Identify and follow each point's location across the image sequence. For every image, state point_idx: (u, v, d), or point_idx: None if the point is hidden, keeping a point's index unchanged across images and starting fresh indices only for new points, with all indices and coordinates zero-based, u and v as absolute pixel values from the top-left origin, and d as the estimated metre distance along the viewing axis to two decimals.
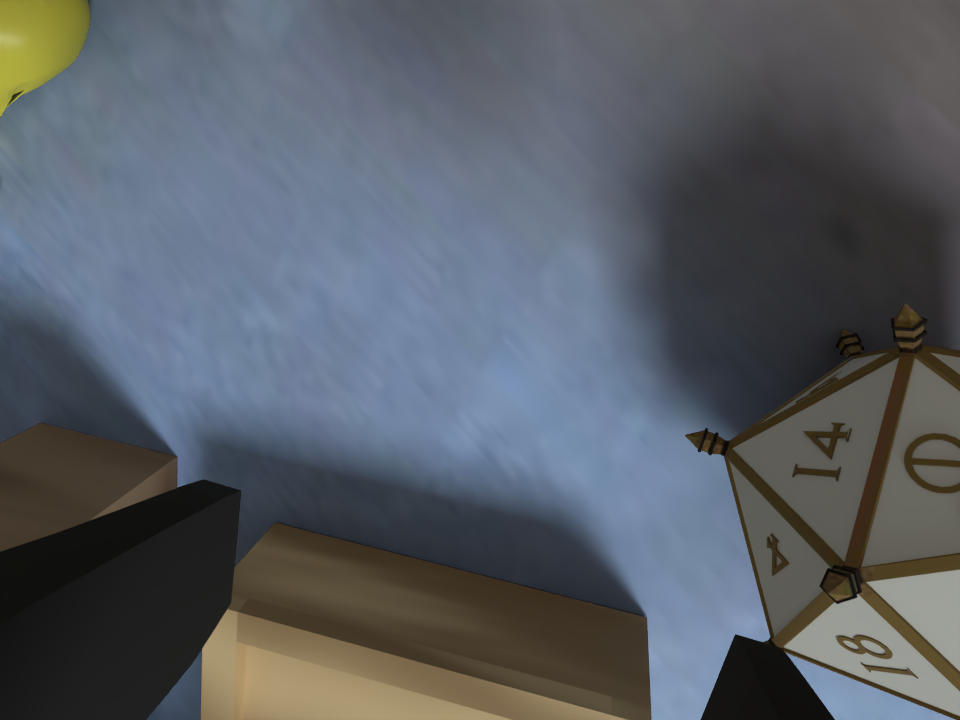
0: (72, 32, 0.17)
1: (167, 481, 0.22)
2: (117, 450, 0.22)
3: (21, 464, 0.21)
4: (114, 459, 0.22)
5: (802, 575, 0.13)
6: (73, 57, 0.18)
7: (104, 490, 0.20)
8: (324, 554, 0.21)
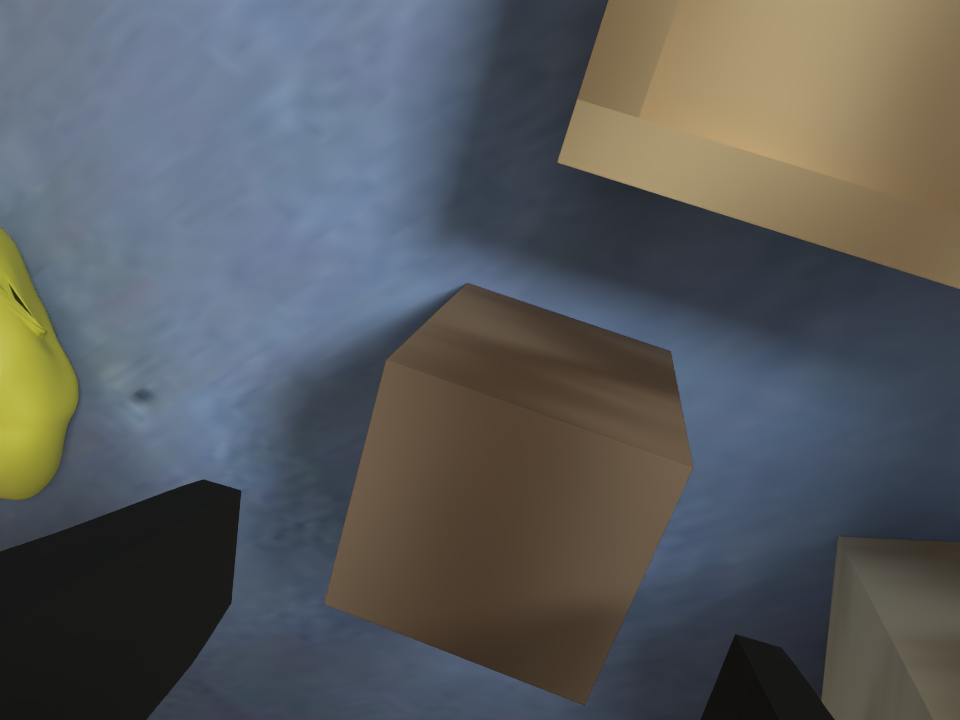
0: None
1: (488, 296, 0.16)
2: None
3: None
4: None
5: None
6: None
7: None
8: None
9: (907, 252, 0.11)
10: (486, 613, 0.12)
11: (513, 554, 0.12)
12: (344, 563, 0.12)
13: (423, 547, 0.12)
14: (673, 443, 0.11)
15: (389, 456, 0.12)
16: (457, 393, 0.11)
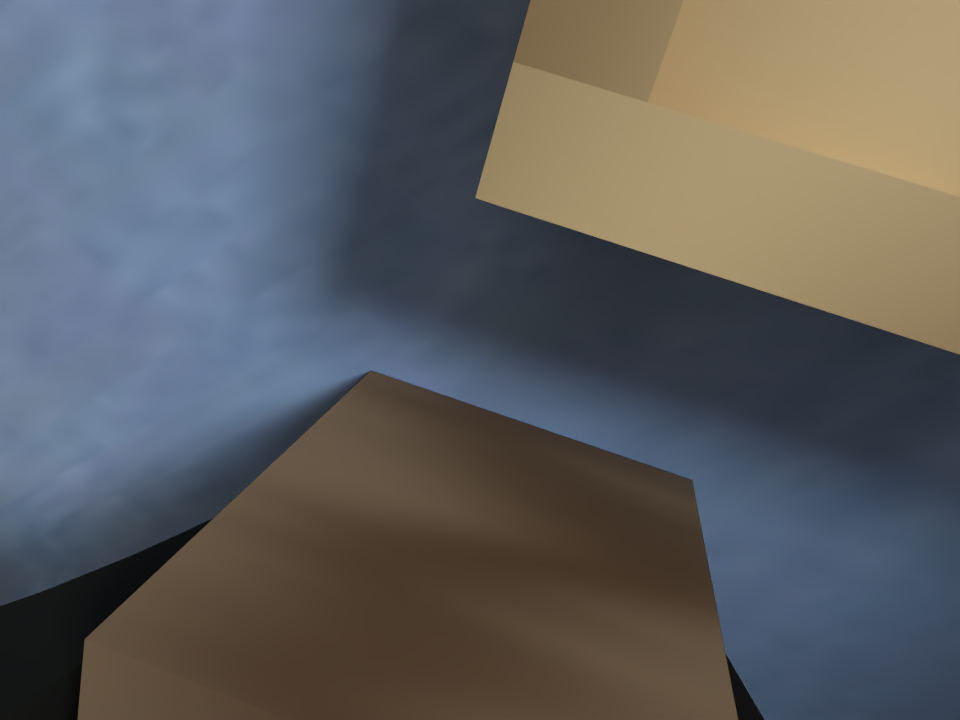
0: None
1: (399, 397, 0.10)
2: None
3: None
4: None
5: None
6: None
7: None
8: None
9: None
10: None
11: None
12: None
13: None
14: None
15: None
16: (242, 716, 0.05)
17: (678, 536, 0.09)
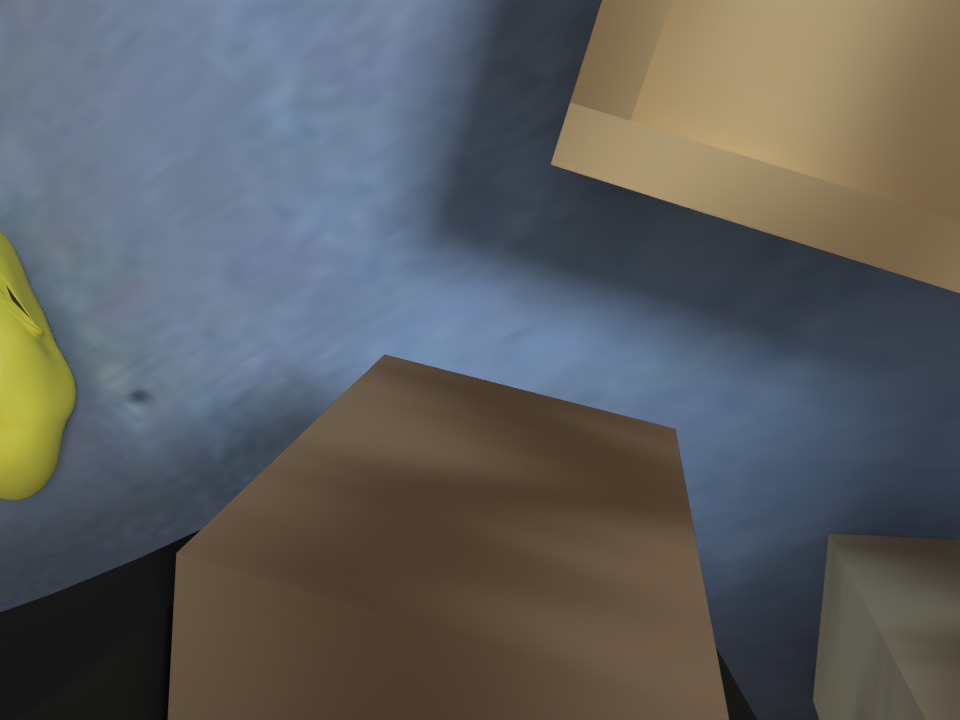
0: None
1: (410, 374, 0.11)
2: None
3: None
4: None
5: None
6: None
7: None
8: None
9: (893, 252, 0.11)
10: None
11: None
12: None
13: None
14: (689, 652, 0.06)
15: (211, 702, 0.07)
16: (303, 603, 0.06)
17: (660, 471, 0.10)
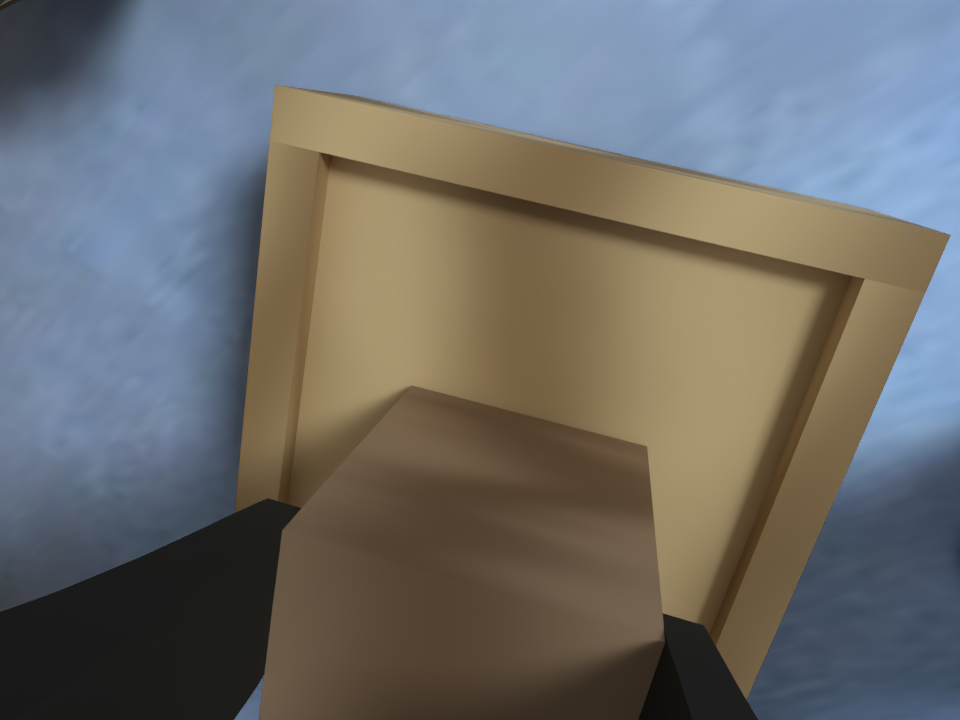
0: None
1: (434, 402, 0.14)
2: None
3: None
4: None
5: None
6: None
7: None
8: None
9: None
10: None
11: None
12: None
13: None
14: (641, 602, 0.09)
15: (300, 641, 0.09)
16: (370, 565, 0.09)
17: (632, 479, 0.12)
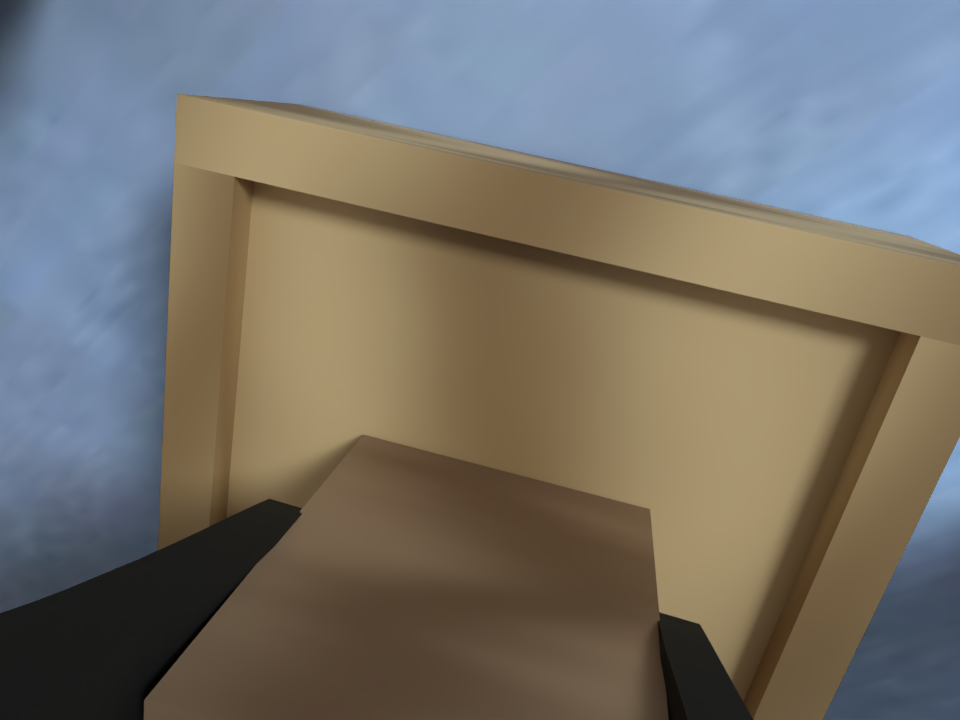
0: None
1: (388, 458, 0.11)
2: None
3: None
4: None
5: None
6: None
7: None
8: None
9: None
10: None
11: None
12: None
13: None
14: None
15: None
16: None
17: (632, 564, 0.10)
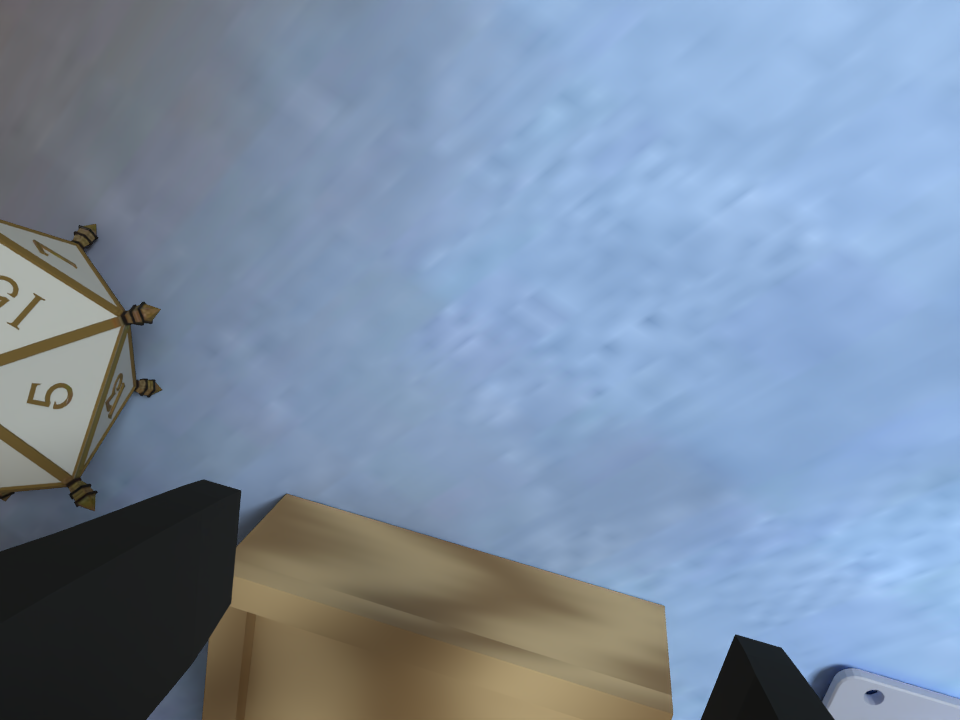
0: None
1: None
2: None
3: None
4: None
5: None
6: None
7: None
8: None
9: None
10: None
11: None
12: None
13: None
14: None
15: None
16: None
17: None
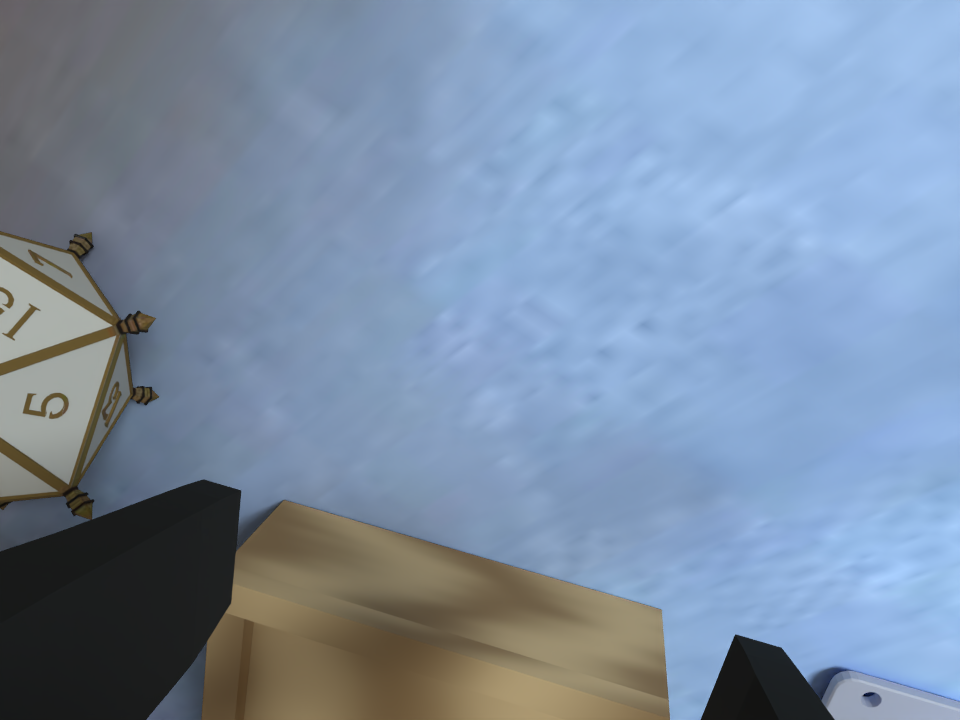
0: None
1: None
2: None
3: None
4: None
5: None
6: None
7: None
8: None
9: None
10: None
11: None
12: None
13: None
14: None
15: None
16: None
17: None
